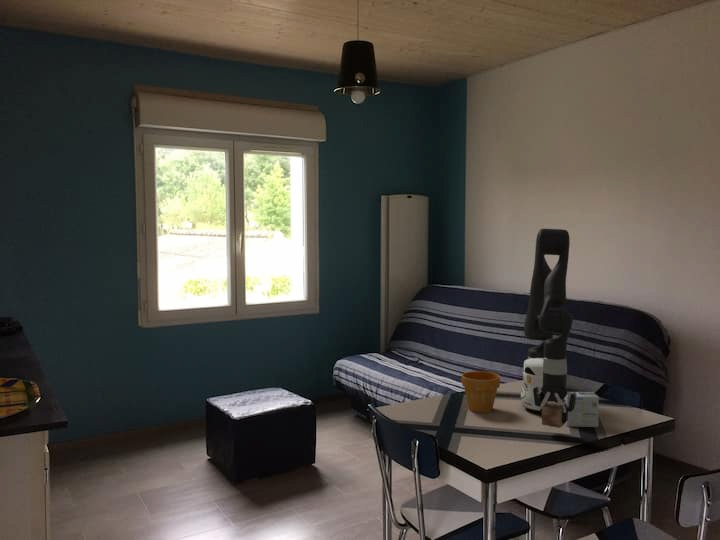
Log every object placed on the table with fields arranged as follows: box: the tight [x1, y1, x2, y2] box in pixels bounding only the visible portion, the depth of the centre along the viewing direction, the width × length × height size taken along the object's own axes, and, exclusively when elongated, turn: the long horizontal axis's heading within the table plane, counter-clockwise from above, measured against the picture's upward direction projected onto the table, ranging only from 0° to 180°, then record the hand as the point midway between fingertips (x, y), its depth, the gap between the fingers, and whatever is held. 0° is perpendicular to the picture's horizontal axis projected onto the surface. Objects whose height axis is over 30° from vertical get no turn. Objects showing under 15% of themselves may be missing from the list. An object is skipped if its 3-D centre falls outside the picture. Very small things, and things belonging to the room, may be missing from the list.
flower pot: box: [461, 370, 501, 413], centre depth 231 cm, size 14×14×13 cm
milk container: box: [520, 358, 559, 413], centre depth 230 cm, size 17×17×18 cm
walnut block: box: [541, 402, 566, 429], centre depth 202 cm, size 6×6×6 cm
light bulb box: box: [564, 391, 600, 428], centre depth 213 cm, size 11×7×11 cm, turn 84°
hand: (553, 420), depth 202 cm, fingers closed on walnut block, 6 cm apart
